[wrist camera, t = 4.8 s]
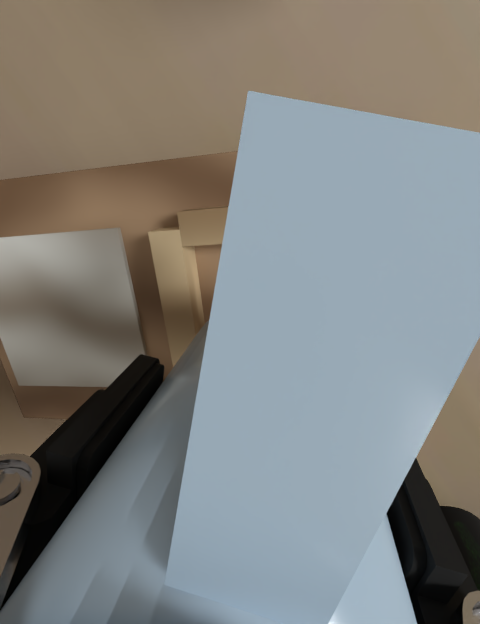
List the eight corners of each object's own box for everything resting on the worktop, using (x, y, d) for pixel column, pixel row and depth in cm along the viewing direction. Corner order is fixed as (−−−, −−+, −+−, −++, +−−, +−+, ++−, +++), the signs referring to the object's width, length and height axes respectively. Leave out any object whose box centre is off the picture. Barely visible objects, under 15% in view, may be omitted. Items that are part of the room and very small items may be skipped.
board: (392, 418, 20) (399, 435, 19) (35, 407, 25) (20, 420, 24) (418, 132, 15) (431, 126, 13) (-47, 188, 20) (-73, 188, 18)
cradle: (375, 397, 19) (383, 417, 17) (190, 393, 21) (181, 411, 19) (388, 191, 15) (400, 191, 13) (159, 212, 17) (144, 214, 15)
